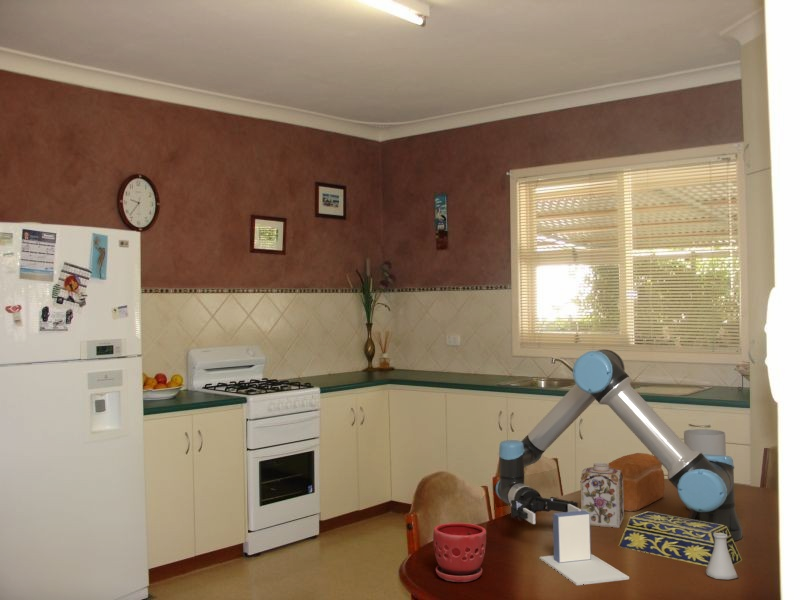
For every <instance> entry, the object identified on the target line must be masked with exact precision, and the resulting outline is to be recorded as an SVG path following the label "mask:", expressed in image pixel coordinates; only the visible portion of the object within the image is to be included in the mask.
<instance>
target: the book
mask: <svg viewBox="0 0 800 600" xmlns="http://www.w3.org/2000/svg"><path fill="white" fill-rule="evenodd" d="M552 526H553V527H552V529H553V531H552V536H553V537H552V538H553V555H554V560H555V561H557V562H558V563H565V562H575V561H584V560H591V554H592V552H591V551H592V550H591V526H590V513H588V512H586V511H575V512H555V513H552Z"/></svg>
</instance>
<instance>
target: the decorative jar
mask: <svg viewBox="0 0 800 600" xmlns="http://www.w3.org/2000/svg"><path fill="white" fill-rule="evenodd" d="M580 509H581V511H586V512H588V513H590V527H599V526H600V527H602V528H611V527H613V529H614V528H615V529H620V527H621V525H622V523H623V521H624V518H625V510H624V496H623V475H622V472H621V471H620V470H617V469H613V468H609V463H606V462H594V463H593V466H592V467H591V466H590V467H586V468H584V469H583V470H582V472H581V477H580Z"/></svg>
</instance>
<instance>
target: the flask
mask: <svg viewBox="0 0 800 600" xmlns="http://www.w3.org/2000/svg"><path fill="white" fill-rule="evenodd" d="M713 535H714V537H715V543H714V549H713V552H712V555H711V558H710V561H709V564H708V566H706V569H705V573H706V575H707V576H708V577H711V578H712V579H716V580H728V581H729V580H733V579H737V578H739V577H738V574H737V572H736V569H735V565H733V564H732V561H731V558H730V556H729V553H728V549H727V543H726V538H727V537H728V536H727V534H724V533H714V534H713Z"/></svg>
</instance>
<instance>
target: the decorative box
mask: <svg viewBox="0 0 800 600" xmlns="http://www.w3.org/2000/svg"><path fill="white" fill-rule="evenodd" d="M714 533H724V534H727V536H728V537H727V538H726V543H727V549H728V553H729V556H730V558H731V561H732V564H733V566H735V565H736V564H738V563H740V562H742V561H743V559H742V557H741V554H740V553H739V550H738V548H737V545H736V544H735V541H733V539H732V536H731V534H730V532H729V530H728V528H727V525H722V524H716V523H711V522H705V521H700V520H694V519H689V518H688V517H683V516H676V515H672V514H665V513H660V512H654V511H651V510H650V511H649V510H645V511H642V512H640V513H636V514H634V515H631V516H630V517H629V518H628V522H627V524H626V526H625V529H624V531H623V533H622V536H621V538H620V541H619V544H618V545H617V547H618V546H619V547H618V548H622V547H623V549H627V548H628V550H631V549H632V551H636V550H637V552H640V551H641V552H642V553H645V552H646V553H645V554H649V553H650V555H654V556H658V557H659V556H660V557H663V558H668V559H672V560H676V561H682V562H686V563H690V564H695V565H700V566H704V567H707V566H708V564H709V561H710V558H711V555H712V552H713V549H714V543H715V537H714V535H713V534H714ZM641 552H640V553H641Z"/></svg>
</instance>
